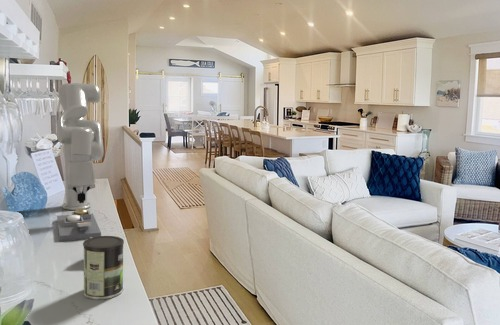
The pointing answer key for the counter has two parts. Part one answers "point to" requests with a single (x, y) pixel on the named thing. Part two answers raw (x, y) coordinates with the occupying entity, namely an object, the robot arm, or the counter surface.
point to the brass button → (81, 211)
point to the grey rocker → (83, 224)
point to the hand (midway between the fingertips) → (81, 202)
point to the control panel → (73, 231)
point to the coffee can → (103, 267)
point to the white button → (73, 218)
